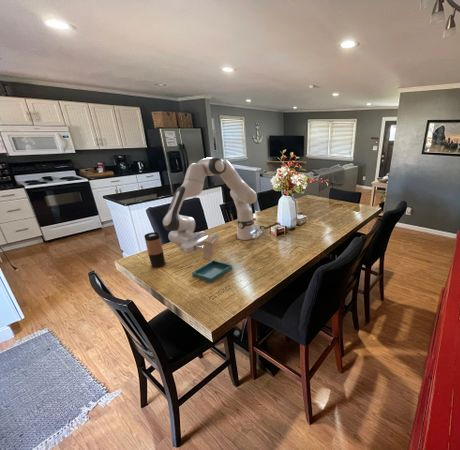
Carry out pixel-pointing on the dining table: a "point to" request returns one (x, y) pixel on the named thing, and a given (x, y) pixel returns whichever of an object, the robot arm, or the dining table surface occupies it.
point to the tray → (212, 271)
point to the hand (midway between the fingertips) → (209, 245)
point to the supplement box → (210, 246)
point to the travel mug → (155, 249)
